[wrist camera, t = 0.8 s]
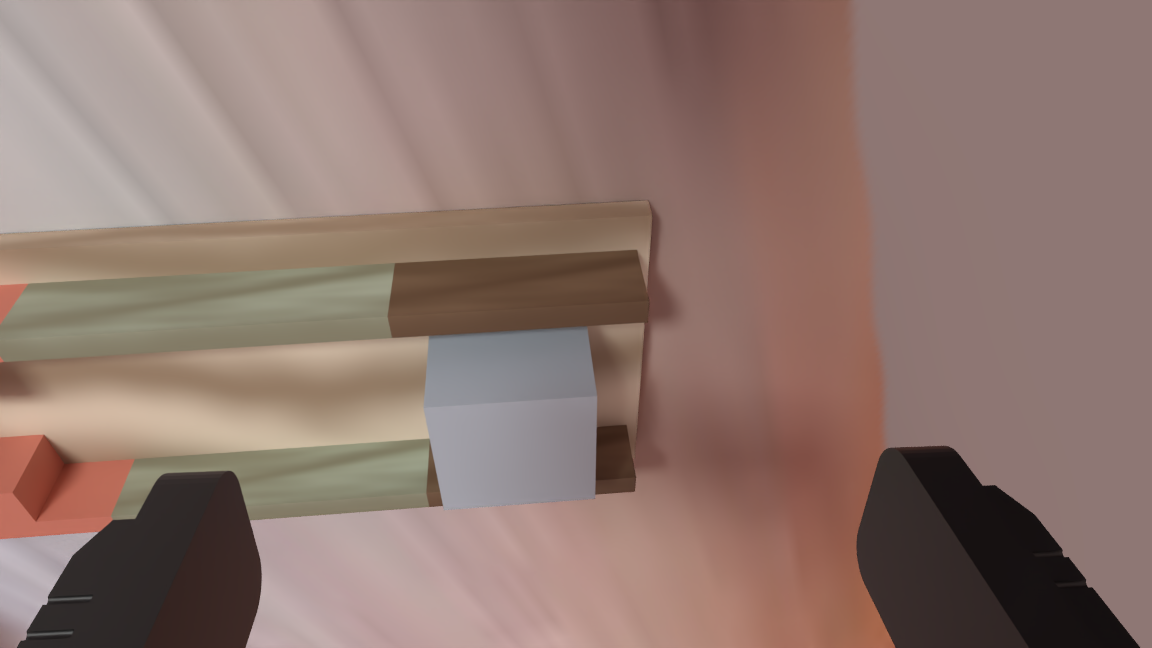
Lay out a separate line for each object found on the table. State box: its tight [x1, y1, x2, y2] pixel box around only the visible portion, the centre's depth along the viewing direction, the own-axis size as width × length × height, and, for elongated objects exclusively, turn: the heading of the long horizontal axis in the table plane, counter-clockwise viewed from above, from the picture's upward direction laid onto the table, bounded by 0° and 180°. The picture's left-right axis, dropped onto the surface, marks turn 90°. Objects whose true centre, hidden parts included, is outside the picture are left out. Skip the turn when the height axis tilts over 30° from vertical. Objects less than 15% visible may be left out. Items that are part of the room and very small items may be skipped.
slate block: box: [423, 326, 597, 510], centre depth 31 cm, size 6×6×5 cm
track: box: [0, 200, 652, 520], centre depth 31 cm, size 14×31×4 cm, turn 90°
